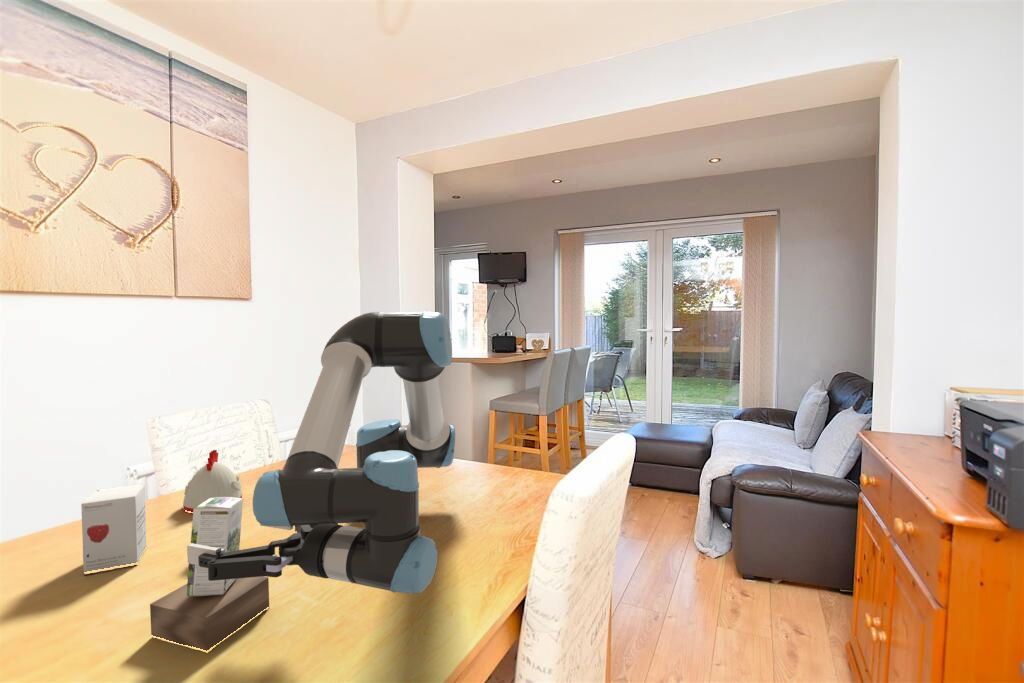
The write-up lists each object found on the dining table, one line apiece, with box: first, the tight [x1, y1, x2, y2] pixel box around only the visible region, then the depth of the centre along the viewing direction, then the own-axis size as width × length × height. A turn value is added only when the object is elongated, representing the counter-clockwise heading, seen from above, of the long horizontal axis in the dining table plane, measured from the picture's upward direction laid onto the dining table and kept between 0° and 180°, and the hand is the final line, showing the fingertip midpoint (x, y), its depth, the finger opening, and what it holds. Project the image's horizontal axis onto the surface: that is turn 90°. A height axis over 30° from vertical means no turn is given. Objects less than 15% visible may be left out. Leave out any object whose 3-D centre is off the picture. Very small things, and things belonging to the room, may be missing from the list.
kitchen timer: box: [182, 449, 243, 512], centre depth 131 cm, size 14×14×15 cm
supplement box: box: [80, 483, 147, 573], centre depth 100 cm, size 9×9×15 cm
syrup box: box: [186, 497, 244, 596], centre depth 80 cm, size 6×6×14 cm
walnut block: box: [149, 576, 270, 651], centre depth 80 cm, size 12×12×6 cm
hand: (228, 533), depth 78 cm, fingers open, 13 cm apart
